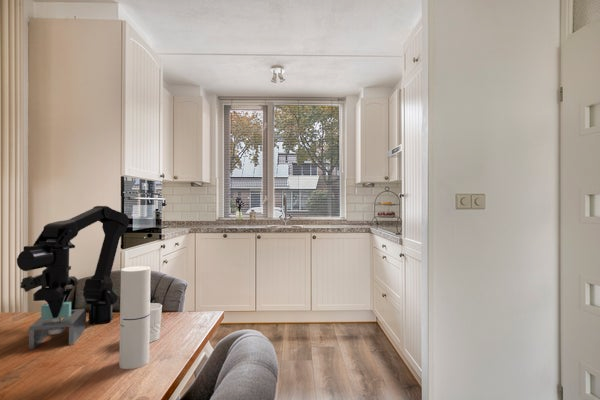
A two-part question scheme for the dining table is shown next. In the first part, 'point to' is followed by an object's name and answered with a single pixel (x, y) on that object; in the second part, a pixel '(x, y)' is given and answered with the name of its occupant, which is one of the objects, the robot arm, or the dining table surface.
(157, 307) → the white cup
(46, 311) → the peg
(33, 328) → the grey square frame stand
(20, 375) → the dining table surface
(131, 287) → the cylindrical container
